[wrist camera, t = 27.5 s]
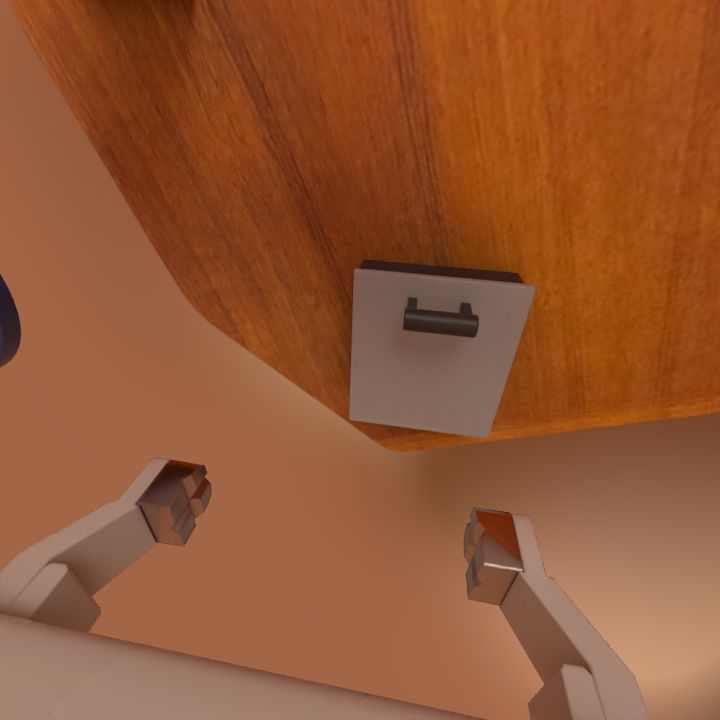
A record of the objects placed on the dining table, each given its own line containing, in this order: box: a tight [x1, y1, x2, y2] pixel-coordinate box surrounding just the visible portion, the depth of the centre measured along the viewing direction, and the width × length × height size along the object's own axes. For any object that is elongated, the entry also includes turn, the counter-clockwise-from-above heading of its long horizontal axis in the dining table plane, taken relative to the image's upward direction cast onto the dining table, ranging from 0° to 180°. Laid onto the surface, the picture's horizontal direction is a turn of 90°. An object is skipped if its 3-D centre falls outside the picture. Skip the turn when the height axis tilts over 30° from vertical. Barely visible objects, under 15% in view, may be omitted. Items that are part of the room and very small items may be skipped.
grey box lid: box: [349, 268, 536, 439], centre depth 30 cm, size 15×13×5 cm
